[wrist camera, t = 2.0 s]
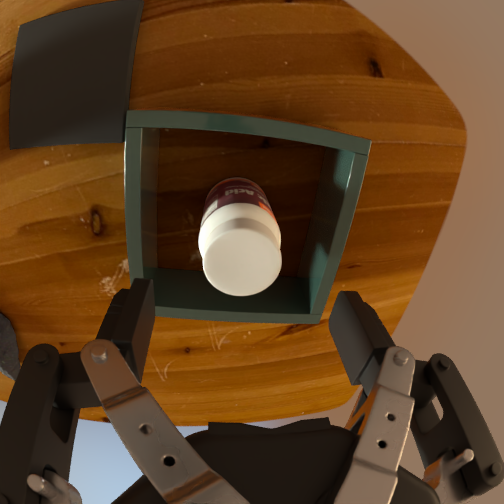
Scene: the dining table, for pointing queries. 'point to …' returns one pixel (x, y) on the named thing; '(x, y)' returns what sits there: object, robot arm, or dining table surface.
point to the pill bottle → (239, 238)
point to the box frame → (195, 282)
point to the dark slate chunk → (8, 349)
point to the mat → (74, 76)
